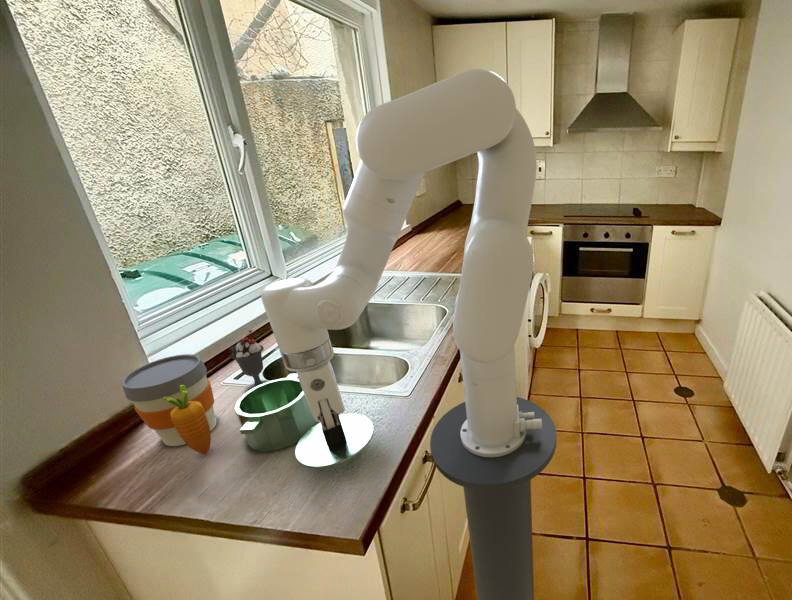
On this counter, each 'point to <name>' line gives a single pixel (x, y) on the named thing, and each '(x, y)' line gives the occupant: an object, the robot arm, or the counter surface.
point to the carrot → (190, 422)
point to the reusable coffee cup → (168, 392)
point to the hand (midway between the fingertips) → (335, 436)
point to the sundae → (249, 359)
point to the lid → (319, 455)
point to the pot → (274, 414)
